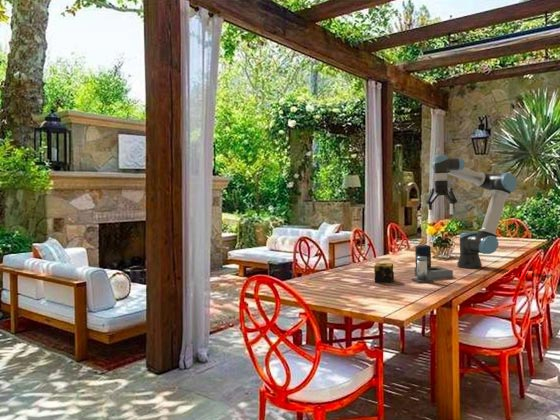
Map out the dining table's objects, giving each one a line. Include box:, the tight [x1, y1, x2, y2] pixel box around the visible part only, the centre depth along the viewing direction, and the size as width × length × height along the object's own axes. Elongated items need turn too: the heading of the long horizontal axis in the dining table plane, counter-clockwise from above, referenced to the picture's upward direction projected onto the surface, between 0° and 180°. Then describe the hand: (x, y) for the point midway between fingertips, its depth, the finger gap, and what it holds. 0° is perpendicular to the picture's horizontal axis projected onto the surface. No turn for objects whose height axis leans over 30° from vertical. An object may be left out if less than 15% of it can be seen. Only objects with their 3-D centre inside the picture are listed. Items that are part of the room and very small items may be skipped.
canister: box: [414, 243, 432, 268], centre depth 304 cm, size 10×10×18 cm
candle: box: [373, 262, 395, 284], centre depth 279 cm, size 10×10×10 cm
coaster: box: [411, 277, 435, 284], centre depth 276 cm, size 9×9×1 cm
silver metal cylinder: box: [416, 256, 428, 280], centre depth 276 cm, size 6×6×13 cm
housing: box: [414, 265, 454, 280], centre depth 289 cm, size 16×16×4 cm
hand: (441, 214), depth 296 cm, fingers open, 13 cm apart
